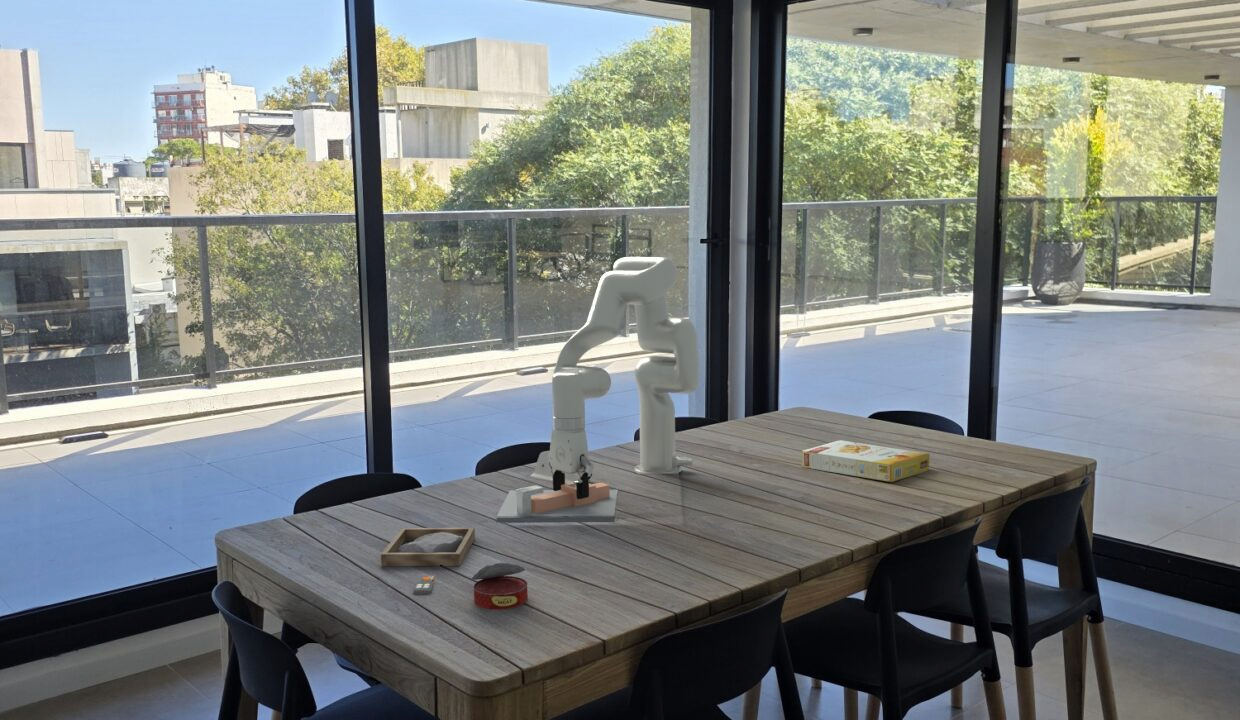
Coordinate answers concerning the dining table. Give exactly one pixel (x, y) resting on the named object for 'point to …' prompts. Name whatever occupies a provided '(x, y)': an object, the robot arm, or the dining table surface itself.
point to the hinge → (549, 470)
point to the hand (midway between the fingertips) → (570, 493)
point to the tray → (424, 559)
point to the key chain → (424, 586)
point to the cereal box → (865, 460)
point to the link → (568, 497)
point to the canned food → (499, 587)
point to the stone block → (433, 543)
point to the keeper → (526, 498)
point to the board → (561, 510)
